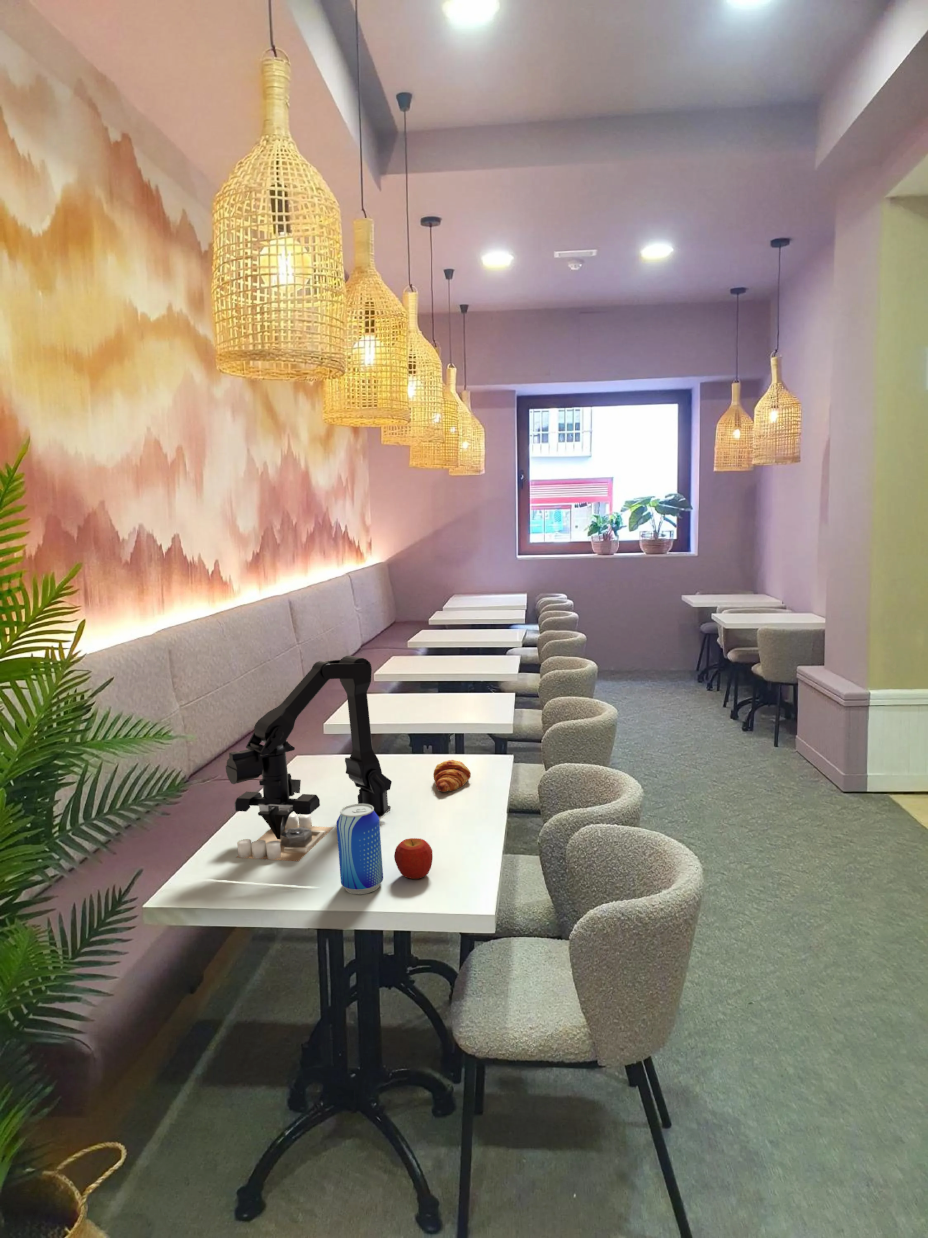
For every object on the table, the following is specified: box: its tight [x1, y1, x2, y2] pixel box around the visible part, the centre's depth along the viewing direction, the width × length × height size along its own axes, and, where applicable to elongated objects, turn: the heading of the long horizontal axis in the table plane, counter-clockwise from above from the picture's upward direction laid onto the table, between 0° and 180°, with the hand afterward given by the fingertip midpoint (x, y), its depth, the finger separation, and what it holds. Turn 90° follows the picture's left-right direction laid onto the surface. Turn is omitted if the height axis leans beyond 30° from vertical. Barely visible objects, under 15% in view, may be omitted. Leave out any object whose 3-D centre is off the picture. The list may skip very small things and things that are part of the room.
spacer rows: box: [236, 812, 313, 861], centre depth 188 cm, size 10×19×3 cm, turn 166°
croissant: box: [432, 759, 472, 793], centre depth 223 cm, size 21×10×8 cm, turn 168°
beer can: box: [335, 803, 384, 895], centre depth 163 cm, size 8×8×16 cm
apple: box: [393, 837, 434, 880], centre depth 167 cm, size 8×8×8 cm
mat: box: [235, 825, 334, 862], centre depth 187 cm, size 15×19×1 cm
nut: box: [280, 827, 312, 848], centre depth 186 cm, size 6×7×2 cm
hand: (279, 838), depth 187 cm, fingers closed
